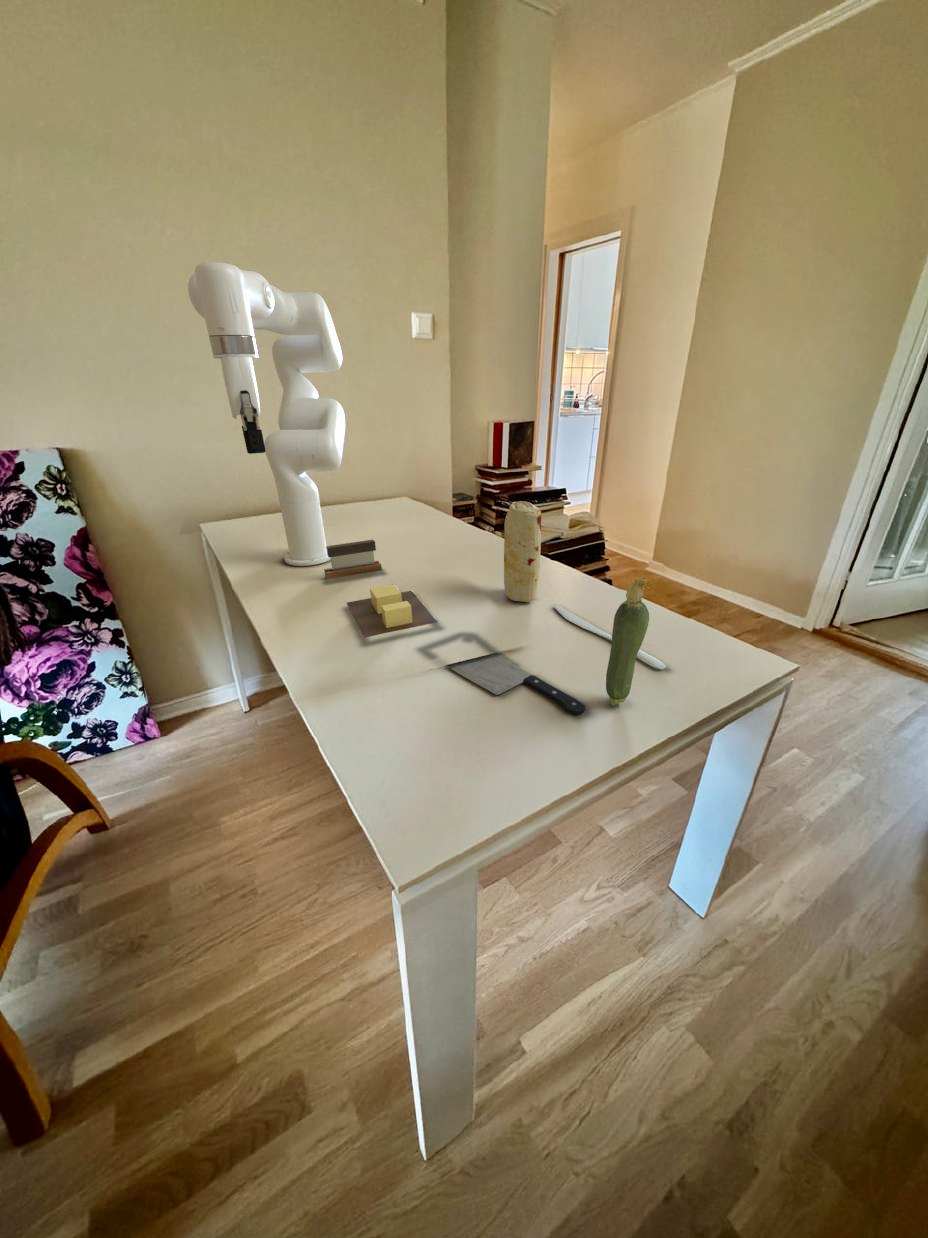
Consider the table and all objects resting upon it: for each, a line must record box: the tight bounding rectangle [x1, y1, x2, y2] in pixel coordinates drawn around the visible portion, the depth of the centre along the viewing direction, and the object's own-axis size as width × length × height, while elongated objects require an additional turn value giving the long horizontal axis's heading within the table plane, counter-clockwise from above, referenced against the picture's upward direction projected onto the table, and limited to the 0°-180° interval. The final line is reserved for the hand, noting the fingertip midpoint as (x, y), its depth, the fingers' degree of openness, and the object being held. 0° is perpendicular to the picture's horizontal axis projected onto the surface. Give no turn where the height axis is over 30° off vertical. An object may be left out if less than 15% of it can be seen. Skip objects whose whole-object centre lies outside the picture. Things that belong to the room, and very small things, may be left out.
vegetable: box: [605, 576, 650, 706], centre depth 65 cm, size 4×4×20 cm
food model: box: [503, 500, 542, 603], centre depth 98 cm, size 10×7×20 cm
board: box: [346, 590, 438, 638], centre depth 94 cm, size 16×14×2 cm
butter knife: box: [554, 605, 667, 670], centre depth 87 cm, size 1×27×3 cm
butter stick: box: [369, 583, 402, 614], centre depth 95 cm, size 5×5×4 cm
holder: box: [323, 560, 383, 580], centre depth 114 cm, size 3×13×2 cm, turn 114°
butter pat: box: [381, 601, 412, 628], centre depth 89 cm, size 2×5×4 cm, turn 114°
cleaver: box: [445, 652, 586, 715], centre depth 76 cm, size 29×1×10 cm
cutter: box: [326, 539, 377, 571], centre depth 113 cm, size 2×11×8 cm, turn 114°
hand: (255, 449), depth 93 cm, fingers open, 9 cm apart
